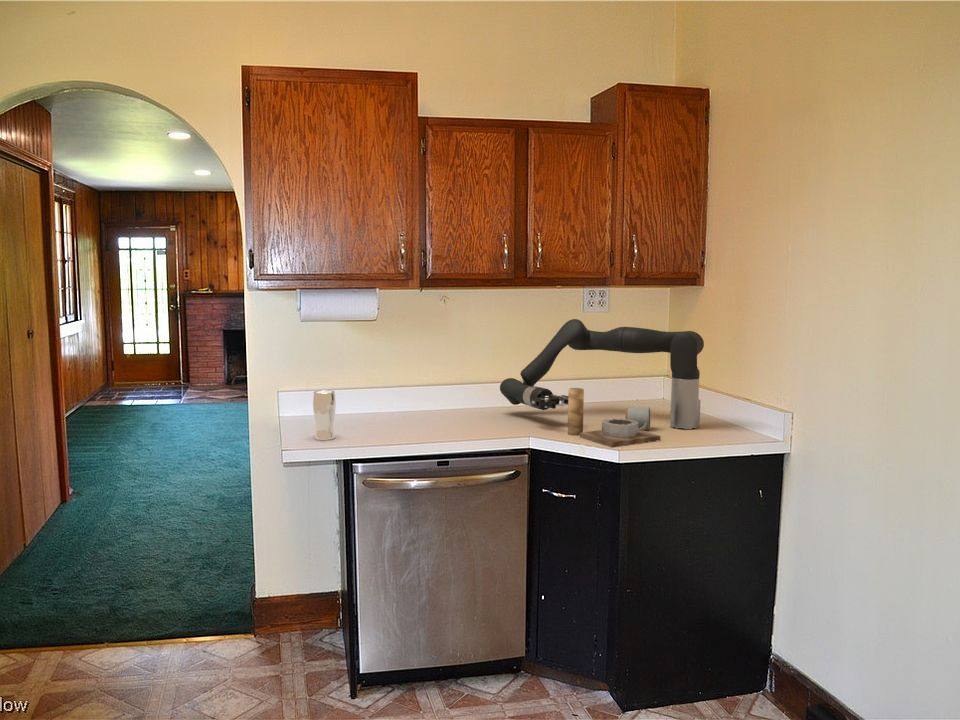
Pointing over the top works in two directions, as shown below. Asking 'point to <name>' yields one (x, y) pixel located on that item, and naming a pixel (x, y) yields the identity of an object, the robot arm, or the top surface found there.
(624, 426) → the steel sleeve
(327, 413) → the beer glass
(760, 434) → the top surface
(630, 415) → the ceramic mug
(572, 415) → the oak peg
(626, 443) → the walnut board
